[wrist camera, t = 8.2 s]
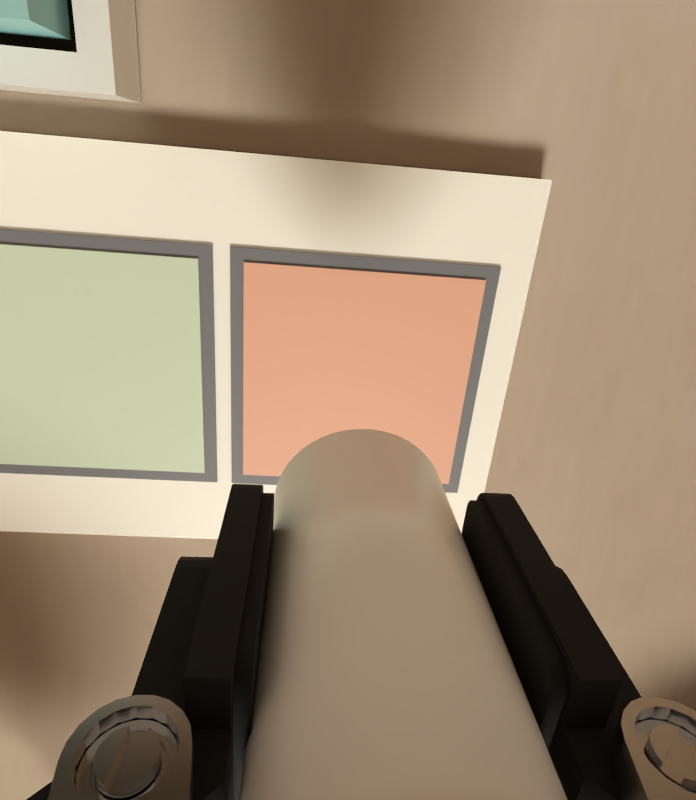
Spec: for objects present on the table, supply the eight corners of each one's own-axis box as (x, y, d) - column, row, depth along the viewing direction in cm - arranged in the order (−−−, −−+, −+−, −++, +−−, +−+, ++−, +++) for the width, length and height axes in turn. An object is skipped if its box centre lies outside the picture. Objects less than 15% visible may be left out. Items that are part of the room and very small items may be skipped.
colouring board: (541, 179, 16) (554, 180, 15) (466, 534, 21) (472, 551, 20) (-102, 121, 15) (-129, 119, 14) (-12, 516, 20) (-27, 533, 19)
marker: (459, 429, 11) (901, 1235, 3) (433, 575, 12) (665, 1377, 4) (271, 420, 11) (126, 1303, 2) (267, 571, 12) (169, 1435, 4)
